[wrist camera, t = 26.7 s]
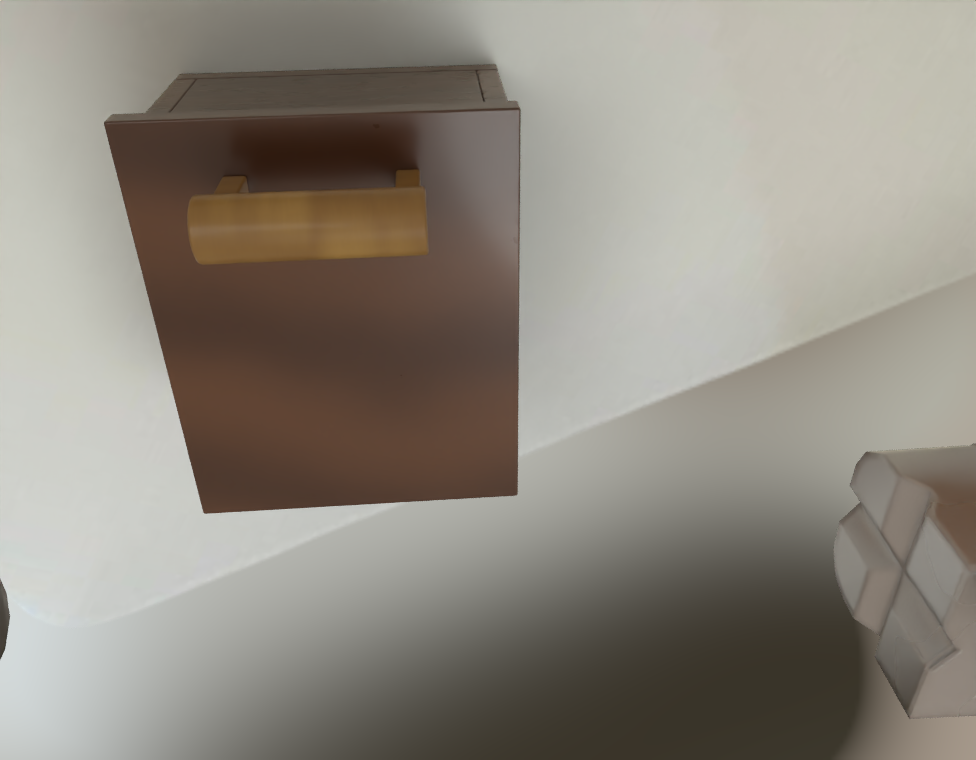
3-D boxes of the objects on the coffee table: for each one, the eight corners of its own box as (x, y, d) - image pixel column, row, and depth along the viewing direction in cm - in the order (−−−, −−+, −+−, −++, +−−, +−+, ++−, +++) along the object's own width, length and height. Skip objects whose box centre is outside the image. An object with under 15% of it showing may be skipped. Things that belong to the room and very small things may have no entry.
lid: (111, 113, 24) (52, 171, 20) (517, 100, 25) (537, 153, 21) (207, 499, 32) (178, 596, 28) (515, 482, 33) (529, 574, 29)
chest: (178, 73, 31) (118, 141, 25) (496, 63, 32) (517, 127, 26) (242, 384, 39) (208, 499, 32) (498, 371, 40) (515, 481, 33)
